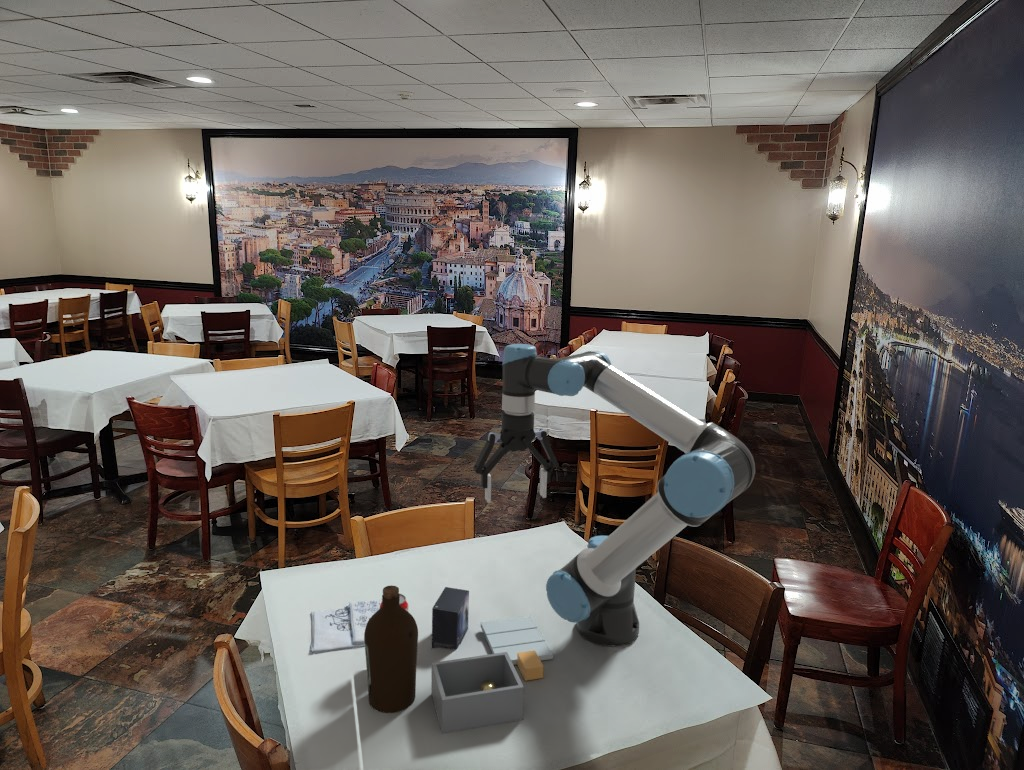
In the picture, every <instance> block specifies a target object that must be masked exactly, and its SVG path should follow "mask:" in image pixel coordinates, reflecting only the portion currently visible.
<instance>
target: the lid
mask: <svg viewBox="0 0 1024 770" xmlns="http://www.w3.org/2000/svg"><path fill="white" fill-rule="evenodd" d="M480 629H481V631H482V633H483V635H484V638H485V640H486V643H487V644H488V647H489V650H490V652H491V654H496V653H502V652H507V653H508V655H509V657H510V659H511V661H512V663H513V665H517V667H518V668H519V671H520V673H521V675H522V677H523V679H524V681H525V682H526V681H532V680H537V679H538V680H539V679H544V664H543V663H542V661H548V660H553V657H554V656H553V655H554V654H553V652H552V650H551V649H550V647H549V644H548V643H547V642H546V639H545V638H544V636H543V635H542V633H541V631H540V629H539V627H538V626H537V625H536V622H535V621H534V619H533V617H532V616H531V615H525V616H517V617H509V618H503V619H501V618H500V619H494V620H487V621H481V622H480Z"/></svg>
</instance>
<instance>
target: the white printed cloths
mask: <svg viewBox="0 0 1024 770" xmlns="http://www.w3.org/2000/svg"><path fill="white" fill-rule="evenodd" d="M381 602H382V599H376V600H375V599H374V600H365V601H364V600H363V601H353V602H352V601H351V602H350V601H349V602H348V605H346V606H344V608H337V609H335V608H334V609H329V610H328V609H327V610H316V611H311V613H310V615H311V628H312V629H311V630H312V631H311V633H312V634H311V636H312V637H311V640H312V641H311V642H312V643H310V649H309V652H310V653H311V654H312V655H313V654H319V653H324V652H332V651H338V650H339V651H340V650H348V649H356V648H365V643H364V633H365V629H366V625H367V623H368V621H369V619H370V618H371V617H372V616H373V615H374V614H375V613H376V612H377V611H378V610H379V609H380V604H381ZM348 623H350V625H351V630H350V629H348V628H347V627H346V626H347V624H348Z"/></svg>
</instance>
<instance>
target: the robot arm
mask: <svg viewBox="0 0 1024 770" xmlns="http://www.w3.org/2000/svg"><path fill="white" fill-rule="evenodd" d="M501 365H502V393H501V394H502V399H501V410H502V412H501V425H500V426H501V428H500V429H501V430H500V432H498V433H495V432H492V431H488V433H487V437H486V442H484V443H485V444H484V445H483V448H482V449H481V451H480V453H479V455H478V457H477V460H476V461H475V463H474V465H473V468H472V469H473V471H474V472H475V473H476V475H477V474H479V475H480V485H481V487H482V489H484V499H485V501H486V503H488V504H489V503H491V502H492V475H491V471H493V470H494V468H495V467H496V465H497V464H498V463H499V462H500V460H502V458H503V457H504V456H505V455H507V454H508V452H509V451H510V452H513V453H514V452H518V451H520V452H525V451H526V450H527V449H528V451H530V453H531V454H533V456H534V457H535V459H537V461H538V462H539V463H540V464H541V465H542V467H543V468H541V467H540V473H539V474H540V475H539V496H541V497H542V499H546V498H547V484H550V483H551V481H552V480H551V478H552V477H551V473H552V472H553V470H554V469H558V468H559V467H560V464H559V462H558V460H557V458H556V456H555V453H554V451H553V449H552V447H551V445H550V443H549V440H548V433H547V431H545V430H544V429H543V428H540V429H538V430H535V429H534V428H535V413H534V411H535V409H536V407H535V404H536V403H535V402H536V401H535V400H536V391H539V392H543V393H544V392H545V393H549V394H554V395H558V396H559V397H561V396H562V397H563V396H566V397H574V396H576V395H577V396H578V394H579V392H581V390H583V388H586V389H587V390H589V391H590V392H592V393H593V394H595V395H597V396H598V397H599V398H601V399H603V400H605V401H606V402H608V403H609V404H611V406H614V407H615V408H617V409H618V410H619V411H621V412H623V413H624V414H626V415H627V416H629V417H630V418H632V419H633V420H635V421H636V422H638V423H640V424H641V425H643V427H646V428H647V429H648V430H650V431H652V432H653V433H655V434H656V435H658V436H659V437H660V438H662V439H663V440H664V441H666V442H668V443H670V444H671V445H672V446H674V447H676V448H677V449H678V450H680V451H682V452H684V454H683V455H681V456H679V457H678V458H677V459H675V461H673V463H672V464H671V465H670V466H669V468H668V469H667V471H666V473H665V474H664V475H663V476H662V477H661V478H660V479H659V480H658V481H657V487H656V488H657V489H656V490H657V492H655V494H654V495H653V496H652V497H651V498H649V499H648V500H647V501H646V502H645V503H643V505H642V506H640V507H639V508H638V509H637V510H636V511H635V512H633V514H632V515H631V516H629V517H628V518H627V519H626V520H625V521H623V523H622V524H620V526H618V527H617V528H616V529H615V530H614V531H613V532H612V533H610V534H609V535H595V536H592V537H590V538H589V540H588V542H587V544H586V547H587V548H584V549H582V550H581V551H580V552H579V553H578V554H577V555H575V556H574V557H573V558H572V559H571V560H570V561H569V562H568V563H566V565H564V566H562V567H561V568H560V569H558V570H555V571H553V573H552V574H551V575H550V576H549V577H548V579H547V581H546V584H545V590H546V597H547V600H548V602H549V604H550V607H551V609H552V610H553V611H554V612H555V613H556V614H557V615H558V616H559V617H560V618H561V619H562V620H565V621H568V622H570V623H574V624H575V623H576V629H577V632H578V634H580V635H581V637H583V638H584V639H585V640H587V641H589V642H591V643H594V644H596V645H601V646H606V647H620V646H621V647H622V646H625V645H627V644H631V643H632V642H634V641H635V640H636V639H637V638H638V636H639V635H638V634H640V620H639V617H638V613H637V610H636V606H635V603H634V602H635V601H634V599H635V589H636V575H637V573H636V572H637V568H638V567H639V566H640V565H642V564H643V563H644V562H645V561H647V559H648V558H650V557H651V556H652V555H654V553H656V552H657V551H659V549H661V548H662V547H663V546H665V544H667V543H668V542H669V541H671V540H672V539H673V538H674V537H675V536H676V535H678V534H679V533H680V532H682V531H683V529H685V528H686V527H687V526H689V527H699V526H701V525H702V524H703V523H705V522H706V521H707V520H709V519H710V518H711V517H712V516H713V515H715V514H716V513H718V512H719V511H721V510H722V509H723V508H724V507H725V506H726V505H727V504H729V503H730V502H731V501H732V500H734V499H735V498H737V497H738V496H739V495H741V494H742V493H744V492H745V491H747V489H748V488H749V487H750V486H751V485H752V483H753V480H754V478H755V475H756V465H755V464H756V463H755V460H754V456H753V454H752V453H751V451H750V449H749V448H748V447H747V446H746V445H745V443H744V442H742V441H741V440H740V439H739V438H738V437H736V436H735V435H733V434H732V433H731V432H729V431H727V430H726V429H724V428H723V427H721V426H720V425H718V424H716V423H715V422H712V421H711V422H706V423H705V422H704V421H702V420H700V419H699V418H698V417H696V416H694V415H693V414H691V413H689V412H687V411H686V410H685V409H682V408H681V407H679V406H677V405H676V404H674V403H673V402H672V401H670V400H668V399H666V398H665V397H663V396H662V395H660V394H658V393H656V392H655V391H653V390H652V389H650V388H649V387H647V386H645V385H644V384H642V383H640V382H639V381H637V380H636V379H634V378H633V377H631V376H629V375H627V374H626V373H624V372H623V371H621V370H620V369H618V368H616V367H614V366H613V365H612V362H611V360H610V358H609V357H608V355H607V354H606V353H604V352H602V351H599V350H594V351H590V350H588V351H584V352H581V353H577V354H573V355H567V356H563V357H559V358H550V357H544V356H543V357H542V356H539V355H538V354H537V348H536V346H535V345H532V344H528V343H510V344H508V345H506V346H505V347H504V349H503V357H502V364H501ZM535 438H536V439H537V440H538V441H540V443H541V446H542V447H543V451H544V452H545V454H546V456H547V458H548V460H549V462H547V460H546V459H545V458H544V456H543V455H542V454H541V453H540V452H539V451H538V449H536V447H535V446H534V445H533V444H532V443H533V441H534V440H535ZM498 440H500V441H501V443H500V444H499V445H498V447H497V449H496V450H495V451H494V453H493V454H492V455H491V456H490V454H491V453H492V450H493V449H494V446H495V444H496V443H497V442H498ZM489 457H490V458H489Z"/></svg>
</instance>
